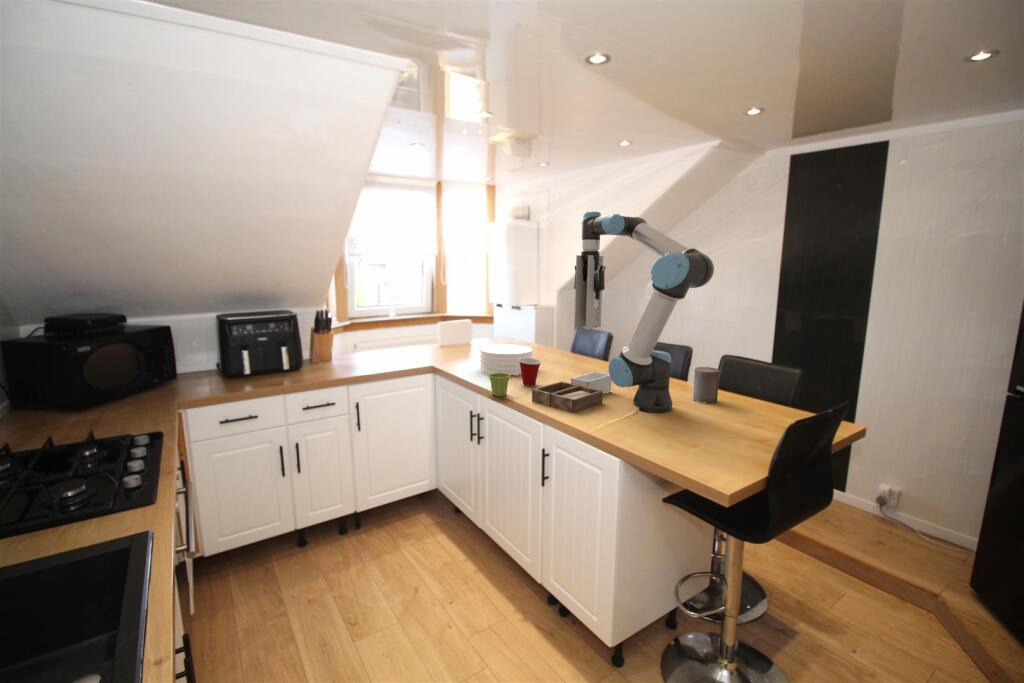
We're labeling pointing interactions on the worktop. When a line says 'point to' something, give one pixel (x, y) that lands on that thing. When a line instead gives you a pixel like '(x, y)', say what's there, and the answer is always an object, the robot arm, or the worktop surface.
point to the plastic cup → (529, 370)
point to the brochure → (586, 295)
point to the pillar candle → (706, 384)
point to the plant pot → (499, 383)
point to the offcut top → (576, 394)
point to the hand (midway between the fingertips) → (588, 306)
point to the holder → (594, 381)
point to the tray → (553, 399)
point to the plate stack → (503, 358)
